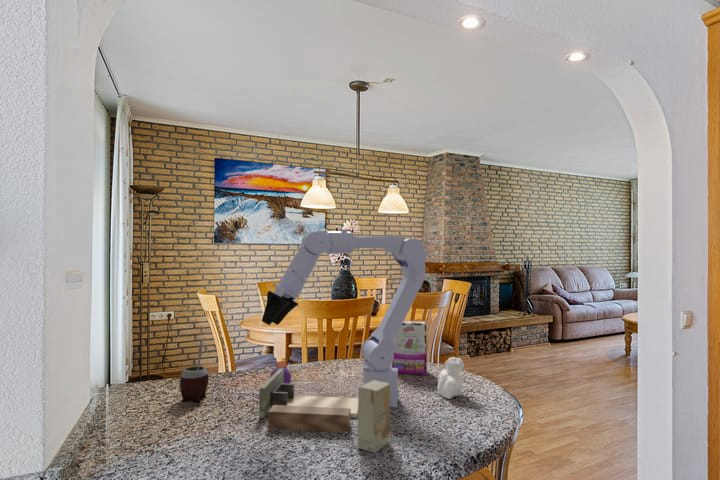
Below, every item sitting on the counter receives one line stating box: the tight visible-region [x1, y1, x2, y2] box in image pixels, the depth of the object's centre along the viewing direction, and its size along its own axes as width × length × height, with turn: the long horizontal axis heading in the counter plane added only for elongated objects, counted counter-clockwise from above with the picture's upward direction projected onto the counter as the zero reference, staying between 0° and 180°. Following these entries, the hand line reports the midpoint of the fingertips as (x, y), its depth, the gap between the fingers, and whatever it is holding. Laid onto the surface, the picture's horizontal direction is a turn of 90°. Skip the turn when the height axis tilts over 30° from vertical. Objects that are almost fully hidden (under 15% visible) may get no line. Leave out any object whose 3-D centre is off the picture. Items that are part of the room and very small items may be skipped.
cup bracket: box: [258, 369, 358, 419], centre depth 105 cm, size 23×16×7 cm
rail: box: [267, 405, 351, 433], centre depth 94 cm, size 18×4×4 cm, turn 84°
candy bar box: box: [391, 320, 428, 376], centre depth 135 cm, size 11×5×16 cm, turn 81°
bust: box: [436, 356, 465, 400], centre depth 115 cm, size 12×8×11 cm
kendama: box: [269, 360, 292, 384], centre depth 126 cm, size 6×6×20 cm
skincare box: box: [357, 380, 391, 453], centre depth 85 cm, size 6×4×12 cm
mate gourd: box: [179, 337, 210, 404], centre depth 110 cm, size 8×8×15 cm
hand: (270, 323), depth 102 cm, fingers open, 7 cm apart
